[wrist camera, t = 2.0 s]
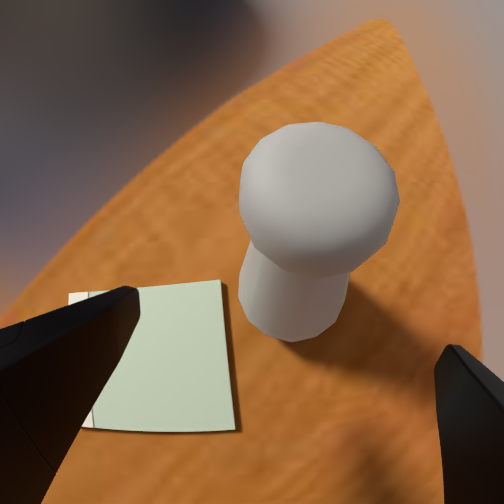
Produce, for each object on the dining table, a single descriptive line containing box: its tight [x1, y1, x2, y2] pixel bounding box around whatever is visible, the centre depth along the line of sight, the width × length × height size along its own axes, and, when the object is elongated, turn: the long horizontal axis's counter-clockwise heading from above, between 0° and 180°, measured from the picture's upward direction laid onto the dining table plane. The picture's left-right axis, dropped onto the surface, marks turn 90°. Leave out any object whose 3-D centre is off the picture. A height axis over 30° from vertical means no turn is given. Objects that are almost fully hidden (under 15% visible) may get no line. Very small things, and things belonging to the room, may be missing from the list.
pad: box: [69, 280, 236, 432], centre depth 18 cm, size 9×11×1 cm
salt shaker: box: [238, 122, 400, 342], centre depth 13 cm, size 6×6×13 cm
